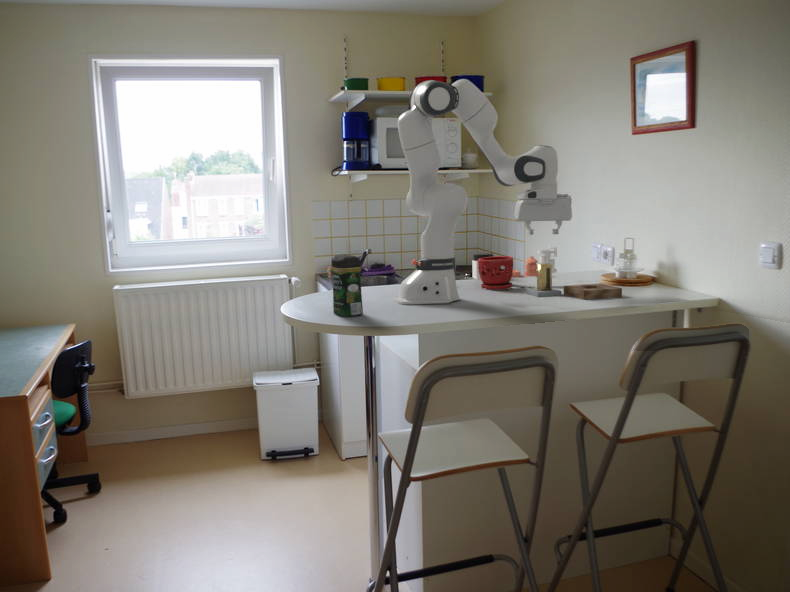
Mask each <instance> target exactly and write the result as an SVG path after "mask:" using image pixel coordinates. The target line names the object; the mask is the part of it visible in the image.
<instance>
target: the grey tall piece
mask: <svg viewBox="0 0 790 592" xmlns="http://www.w3.org/2000/svg"><path fill="white" fill-rule="evenodd" d="M537 254H540V255H541V257H540V256H539V264H541V263H549V264H552V274H555V273H557V270H558V269H557V268H556V266H555V264H556V261H555V258H556V257H557V256H558V247H557V246H548V249H538V250H537ZM553 257H555V258H553Z"/></svg>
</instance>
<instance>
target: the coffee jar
mask: <svg viewBox="0 0 790 592" xmlns="http://www.w3.org/2000/svg"><path fill="white" fill-rule="evenodd" d="M330 266H331V276H332V297H333V298H332V299H333V300H332V303H333V305H332V306H333V310H332V311H333V313H334V315H336V316H338V317H341V318H354V316H356V317H358V316H362V315H363V314H364V313H363V312H364V310H363V309H364V307H363V295H362V283H361V282H362V281H361V280H362V279H361V278H362V277H361V275H362V274H361V273H362V272H361V271H362V263H361V258H360V257H358V256H354V255H350V254H338V255H337V254H336V255H334V256H333V257H332V258H331V265H330Z"/></svg>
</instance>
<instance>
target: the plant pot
mask: <svg viewBox="0 0 790 592" xmlns="http://www.w3.org/2000/svg"><path fill="white" fill-rule="evenodd" d="M484 267H485V268H484ZM501 267H504V268H503V269H502V268H501ZM478 269H479V275H480V278H481V279H480V280H481V282H482V284H480V285H481V288H482V287H483V288H482V289H484V288H486V289H485V290H488V289H506V290H509V289H511V288H512V287H513V283H512V282H511V280H512V278H513V277H512V274H513V270H514V257H513V256H506V255H504V256H503V255H499V256H498V255H497V256H494V257H485V258H480V259H478ZM507 271H508V272H507ZM508 288H509V289H508Z"/></svg>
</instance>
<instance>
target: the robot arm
mask: <svg viewBox="0 0 790 592" xmlns="http://www.w3.org/2000/svg"><path fill="white" fill-rule="evenodd" d="M449 112H452V113H453V114H454V115H455V116H456V117H457V118H458V120H459V121H460V122H461V124H462V125H463V126H464V127H465V129H466V130H467V131H468V133H470V136H471V138H472V139H473V141H474V143H475V145H476V146H477V147H478V149H479V151H480V152H481V154H482V155H483V156H484V158H485V159H486V160H487V162H488V163H489V165H490V167H491V169H492V170H491V171H492V172H493V175H494V176H493V177H494V178H495V180H496V181H497V183H499V185H502V186H503V187H512V186H517V185H525V184H530V189H527V190H524V191H521V192H518V193H517V197H516V198H517V199H518V200H517V201H516V203H515V206H514V219H515V220H516V222H524V227H525V228H526V229H527V230H526V231H527V235H528V236H529V235H530V236H531V235H532V236H533V235H534V229H532V227H531V224H532V222H555V224H556V226H555V227H554V228H552V235H559V234H560V233H559V231H560V228H561V227H562V225H563V222H565V221H566V222H567V221H571V220H572V218H573V210H572V204H573V203H572V197H571V195H569V194H567V193H564V194H563V193H558V181H557V177H558V171H559V168H558V167H559V164H558V163H559V161H558V153H557V150H556V149H555V148H554V147H552V146H551V145H550V146H549V145H543V144H542V145H538V144H537V145H535V146H534V147H533V148H532V149H530V150H528V151H527V152H524V153H522V154H520V155H515V156H511V155H509V154H507V153H506V152H505V150H503V148H502V147H501V145H500V143H499V141H497V139H496V138H495V135H494V130H495V129H496V126H497V125H498V119H499V115H498V113H497V110H496V109H495V106H494V105H493V104H492V103H491V101H490V100H489V99H488V98H487V96H486V95H485V93H483V92H482V91H481V90H480V88H478V87H477V86H476V84H474V83H473V82H472V81H470V80H469V79H467V78H461V79H458V80H456V81H455V82H454V81H453V83H451V84H449V83H446V82H444V81H440V80H435V79H434V80H433V79H429V80H425V81H421V82H419V83H417V84H416V85H415V86H414V87H413V88H412V91H411V94H410V98H409V104H408V108H407V111H404V112H403V113H402V114H400V116H399V117H398V119H397V131H398V136H399V141H400V144H401V148H402V151H403V155H404V159H405V160H406V165H407V168H408V172H409V173H408V174H409V181H410V182H409V191H408V193H407V195H406V198H405V199H406V200H405V203H406V207H407V209H408V211H409V212H411V213H412V214H414V215H417V216H418V217H419V216H420V217H424V218H426V217H428V223H427V225H426V228H425V230H424V231H422V233H421V236H420V258H419V259H412V261H411V265H412V266H415V270H414V271H413V272H412V273H411V274H410V275H409V276H407V277H406V278H405V279H403V280H402V282H401V283H400V286H399V292H398V294H399V295H396V296H394V297H393V298H392V300H393V301H394V302H395V303H396V302H397V303H396V304H400V305H423V304H424V305H425V304H426V305H428V304H430V305H431V304H449V303H451V302H453V301H454V302H455V301H458V300H460V296H459V293H458V289H457V288H458V287H457V283H456V282H457V281H456V276H455V274H456V271H457V269H456V268H457V265H456V257H455V255H454V254H455V253H454V252H455V251H454V250H455V247H454V243H455V242H454V241H455V232H456V231H455V230H456V228H457V224H458V221H459V219H460V217H461V215H462V214H463V213H464V212H465V210H466V209H467V207H468V204H469V203H468V202H469V197H468V193H467V191H466V190H465V188H464V187H463V186H461V185H458V184H455V183H450V182H443V183H440V182H439V179H438V172H439V169H440V167H441V165H442V158H441V153H440V150H439V148H438V144H437V141H436V137H435V134H434V132H433V126H432V125H433V119H434V117H441V116H444V115H446V114H448V113H449Z"/></svg>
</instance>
